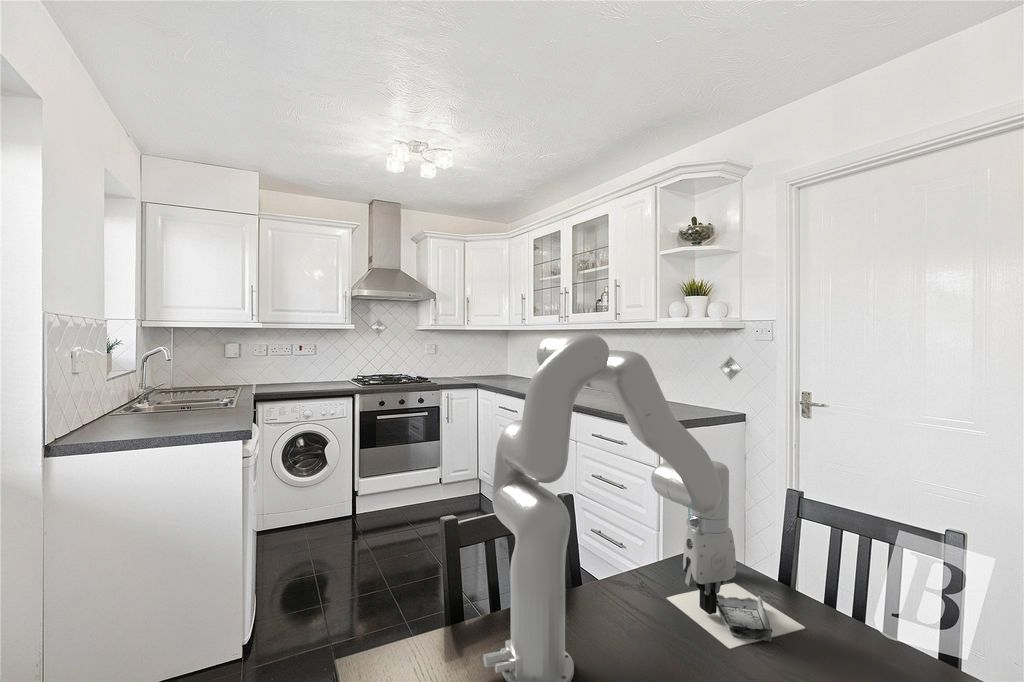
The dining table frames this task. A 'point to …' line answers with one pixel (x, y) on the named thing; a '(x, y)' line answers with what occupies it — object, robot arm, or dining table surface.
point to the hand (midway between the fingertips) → (707, 610)
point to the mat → (715, 622)
